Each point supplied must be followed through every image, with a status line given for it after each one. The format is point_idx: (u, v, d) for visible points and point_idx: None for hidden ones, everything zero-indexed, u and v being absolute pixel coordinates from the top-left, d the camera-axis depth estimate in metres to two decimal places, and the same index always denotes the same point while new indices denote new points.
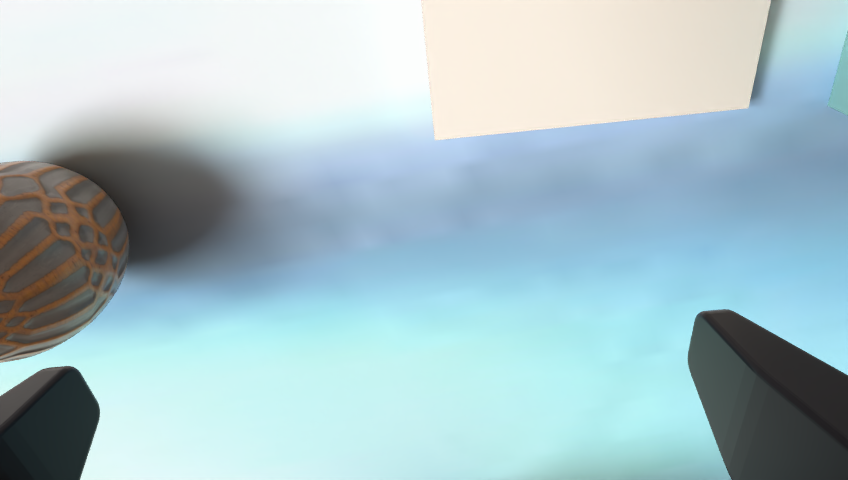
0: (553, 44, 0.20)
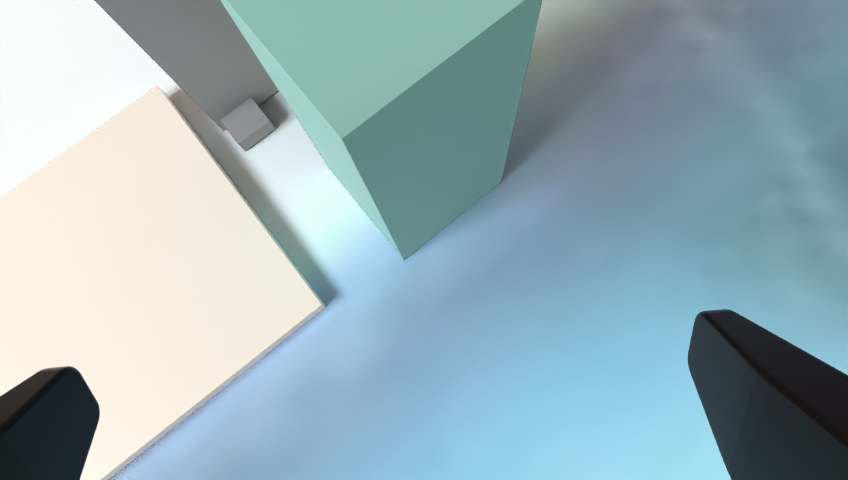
0: (115, 364, 0.21)
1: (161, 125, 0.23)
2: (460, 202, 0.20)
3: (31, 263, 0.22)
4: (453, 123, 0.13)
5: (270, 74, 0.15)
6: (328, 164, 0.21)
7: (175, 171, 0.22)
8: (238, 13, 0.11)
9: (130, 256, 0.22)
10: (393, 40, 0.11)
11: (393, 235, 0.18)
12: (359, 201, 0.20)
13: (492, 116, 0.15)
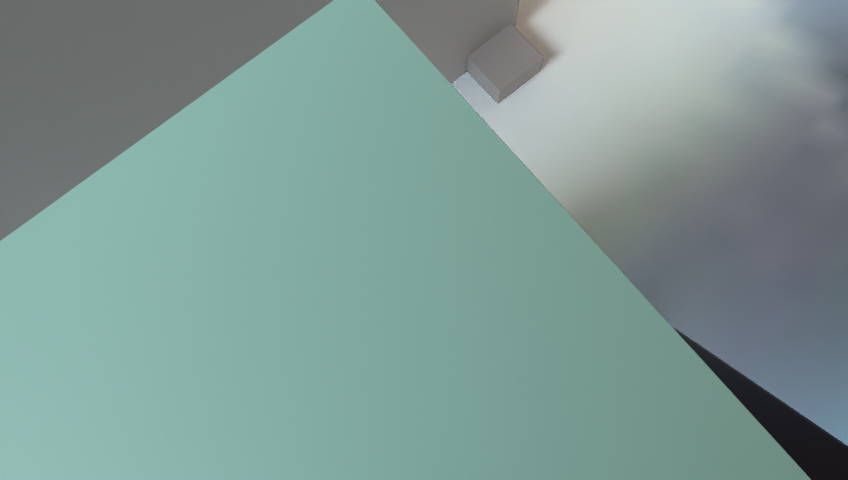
0: None
1: None
2: None
3: None
4: None
5: None
6: None
7: None
8: None
9: None
10: None
11: None
12: None
13: None
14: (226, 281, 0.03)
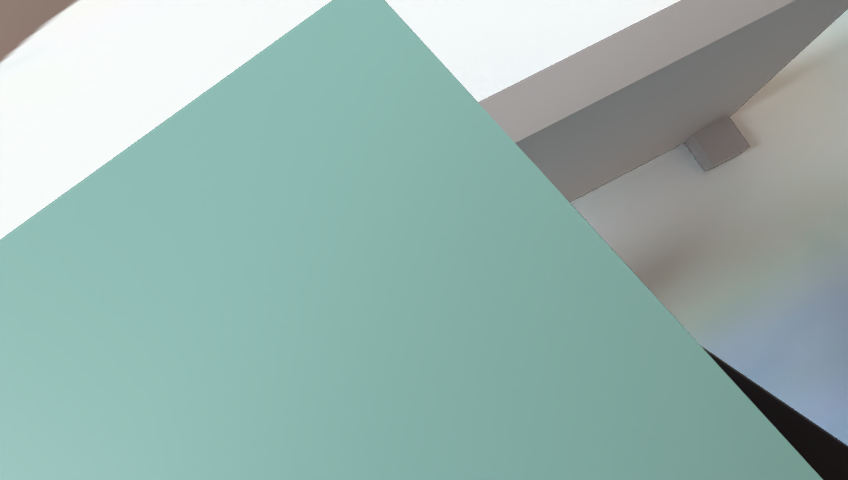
0: None
1: None
2: None
3: None
4: None
5: None
6: None
7: None
8: None
9: None
10: None
11: None
12: None
13: None
14: (232, 276, 0.03)
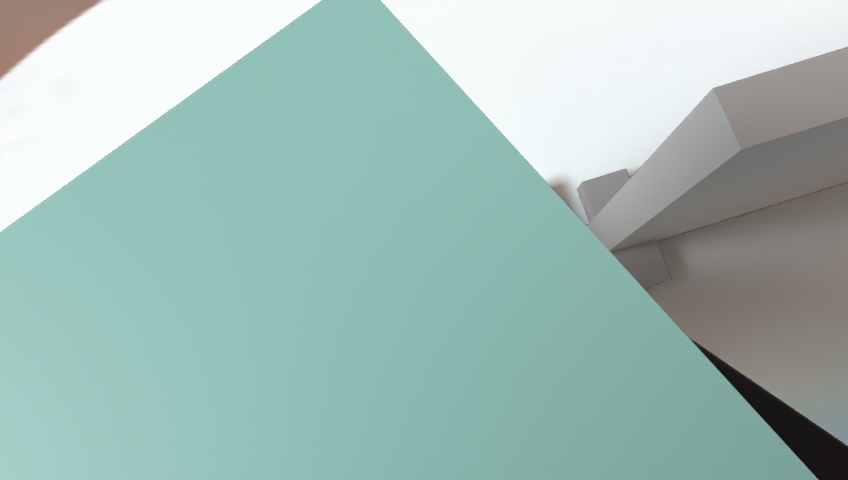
0: None
1: None
2: None
3: None
4: None
5: None
6: None
7: None
8: None
9: None
10: None
11: None
12: None
13: None
14: (224, 272, 0.03)
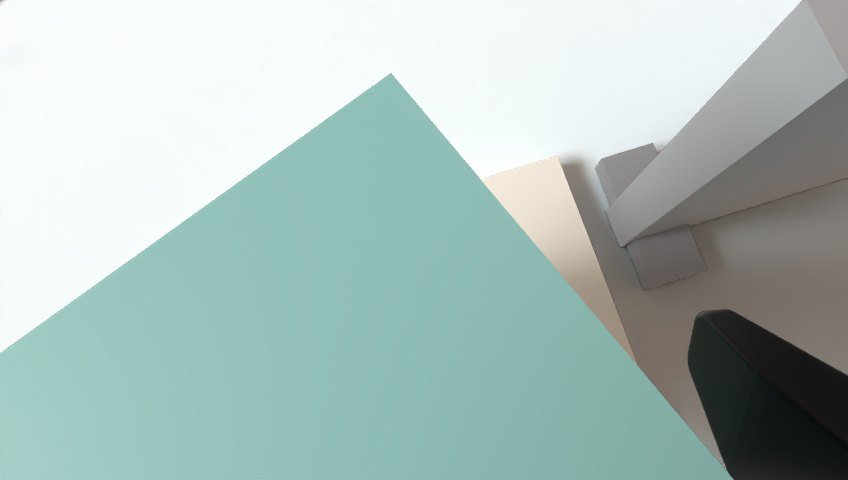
0: None
1: (549, 215, 0.16)
2: None
3: None
4: None
5: None
6: None
7: None
8: None
9: None
10: None
11: None
12: None
13: None
14: (286, 310, 0.04)
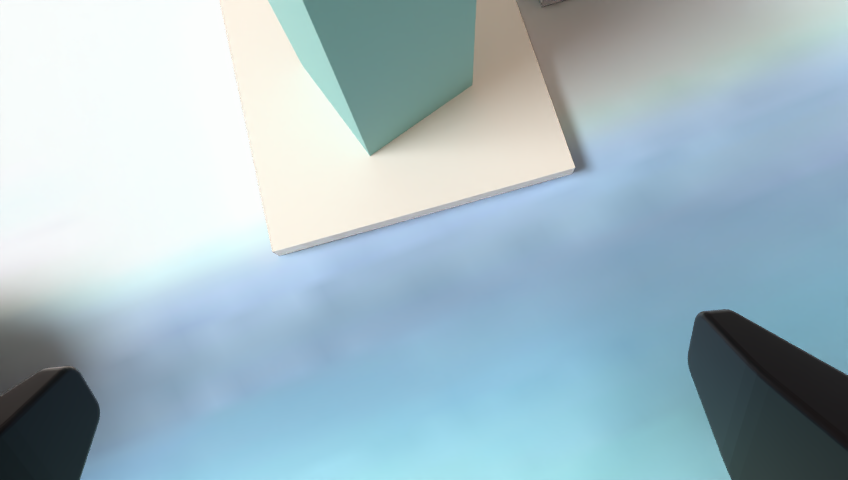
0: None
1: None
2: (426, 91, 0.20)
3: None
4: None
5: None
6: (296, 50, 0.21)
7: None
8: None
9: None
10: None
11: (351, 107, 0.18)
12: (324, 84, 0.20)
13: None
14: None
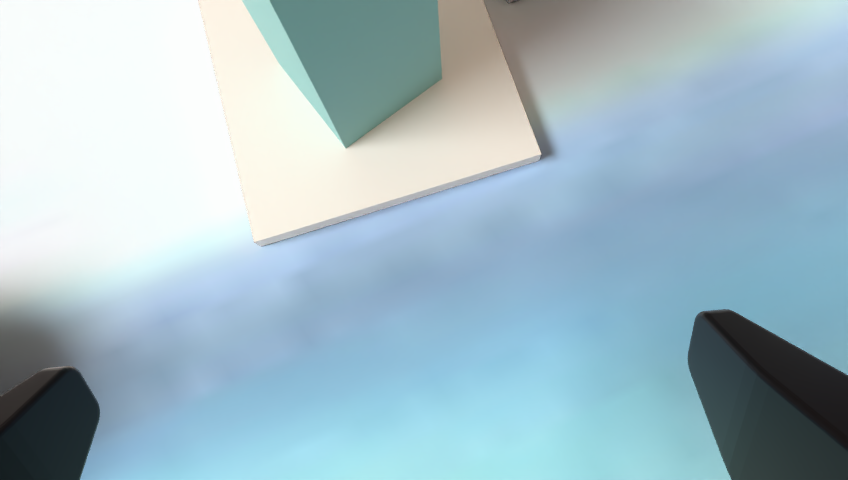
0: None
1: None
2: (396, 84, 0.21)
3: None
4: None
5: None
6: (272, 49, 0.22)
7: None
8: None
9: None
10: None
11: (322, 99, 0.19)
12: (298, 80, 0.21)
13: None
14: None
